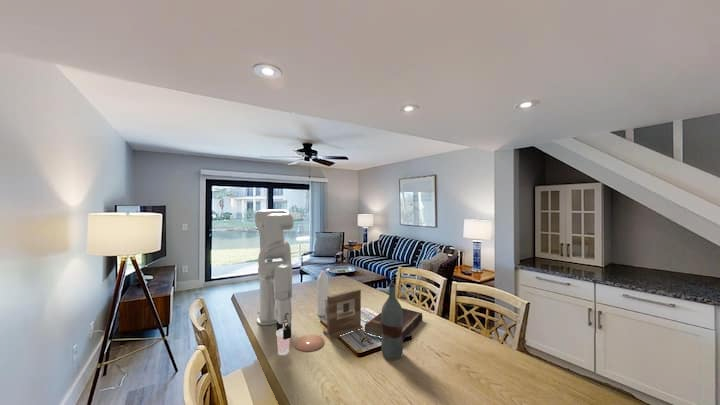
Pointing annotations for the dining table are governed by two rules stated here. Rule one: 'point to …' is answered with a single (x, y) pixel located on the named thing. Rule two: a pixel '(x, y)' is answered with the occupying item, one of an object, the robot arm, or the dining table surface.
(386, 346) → the vodka
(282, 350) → the beverage cup
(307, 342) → the peach round disc
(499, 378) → the dining table surface
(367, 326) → the hardback book
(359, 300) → the mount stand
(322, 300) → the water bottle
